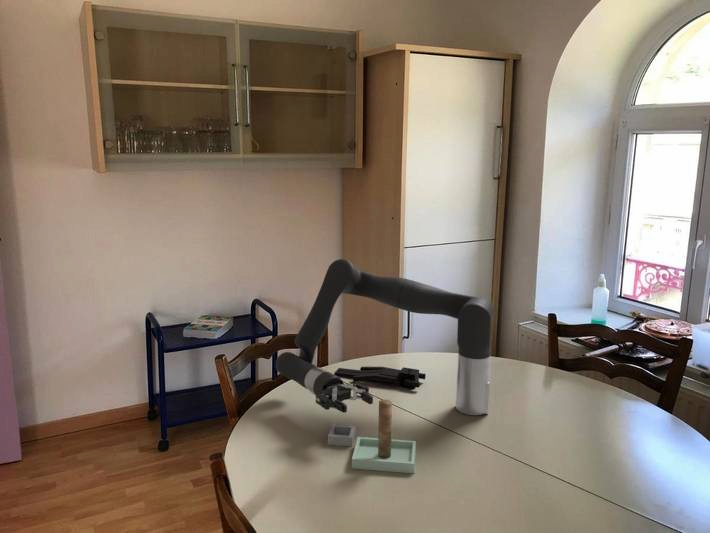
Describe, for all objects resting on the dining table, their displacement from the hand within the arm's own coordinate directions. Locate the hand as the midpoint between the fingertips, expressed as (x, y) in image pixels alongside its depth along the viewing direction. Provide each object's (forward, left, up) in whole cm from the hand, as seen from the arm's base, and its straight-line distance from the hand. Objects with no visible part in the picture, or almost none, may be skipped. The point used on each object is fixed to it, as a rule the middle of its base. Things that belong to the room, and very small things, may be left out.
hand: (359, 404), depth 154 cm
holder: (+5, -1, -10) cm, 11 cm away
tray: (-7, +7, -10) cm, 15 cm away
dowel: (-7, +7, -9) cm, 14 cm away
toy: (-1, -42, -11) cm, 43 cm away
